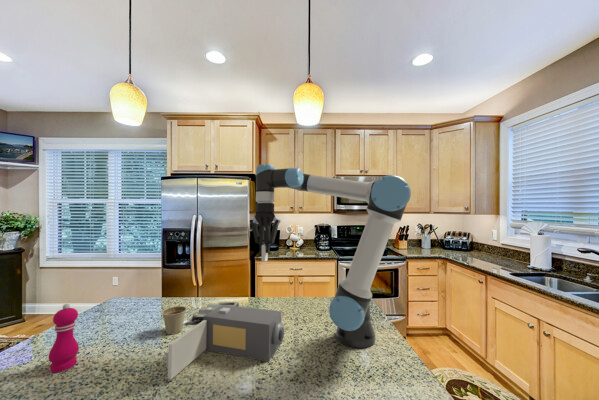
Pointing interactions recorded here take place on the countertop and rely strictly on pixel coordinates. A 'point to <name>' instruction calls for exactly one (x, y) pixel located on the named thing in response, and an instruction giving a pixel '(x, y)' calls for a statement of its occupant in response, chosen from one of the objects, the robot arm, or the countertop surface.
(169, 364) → the side door
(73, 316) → the pepper mill
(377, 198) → the robot arm
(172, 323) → the flower pot
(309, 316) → the countertop surface
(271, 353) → the camera body
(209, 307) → the camcorder
